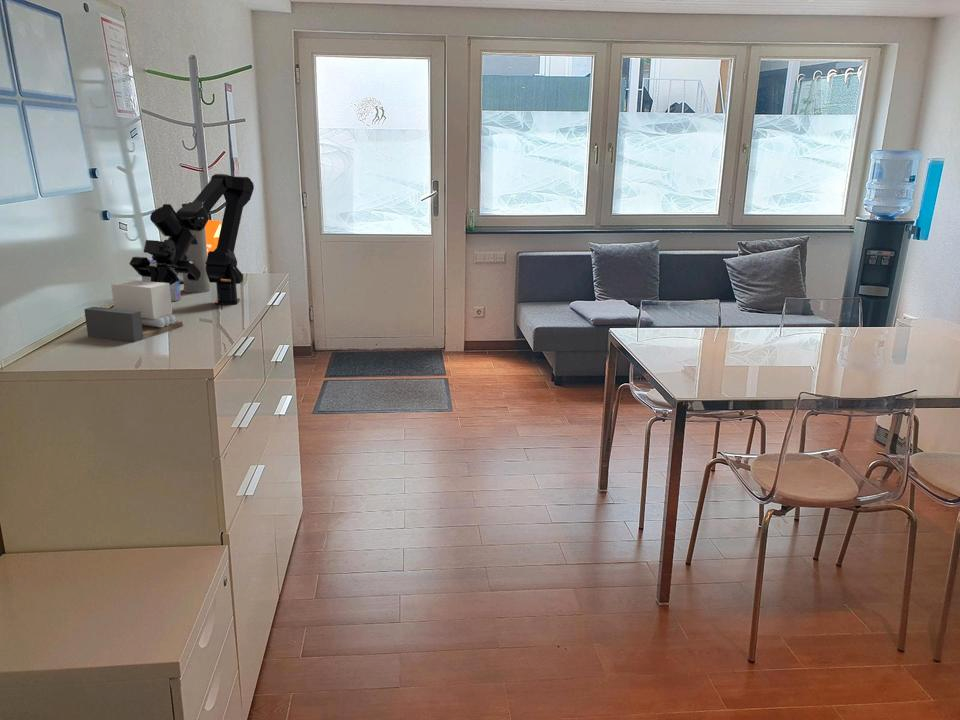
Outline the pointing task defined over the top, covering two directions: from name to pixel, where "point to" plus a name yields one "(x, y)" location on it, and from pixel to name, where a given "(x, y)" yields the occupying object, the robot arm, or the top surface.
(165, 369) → the top surface
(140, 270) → the robot arm
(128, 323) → the block
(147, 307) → the white rectangular box
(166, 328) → the brown wooden plank
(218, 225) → the orange juice
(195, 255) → the thermos bottle
